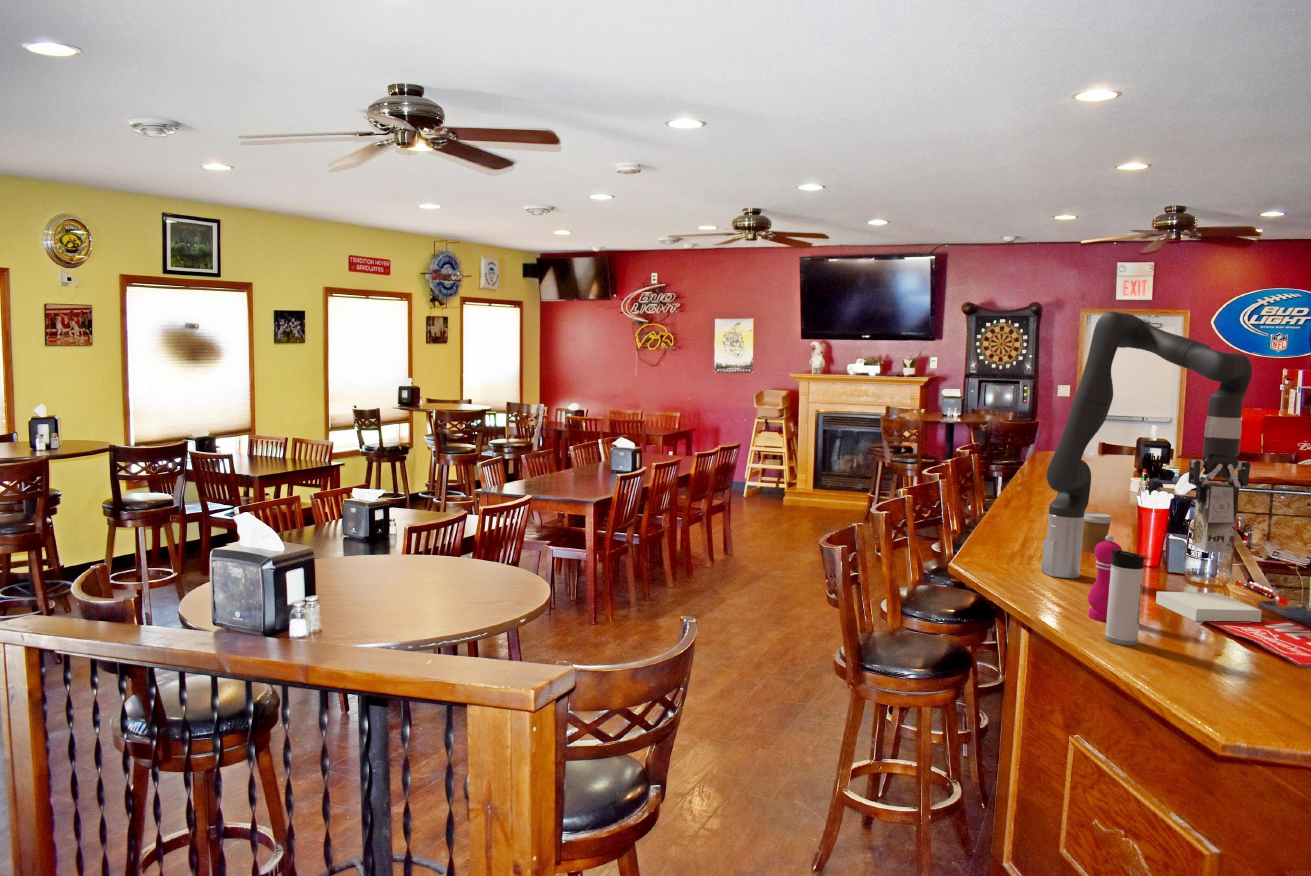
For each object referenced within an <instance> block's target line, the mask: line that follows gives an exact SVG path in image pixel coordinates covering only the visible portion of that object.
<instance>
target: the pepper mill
mask: <svg viewBox="0 0 1311 876" xmlns="http://www.w3.org/2000/svg"><path fill="white" fill-rule="evenodd" d="M1114 539H1115V538H1114V536H1113V535H1111V534H1108V535H1107V536H1106V538H1105V540H1106V541H1103V542H1100V543H1098V544H1097V545H1096V547H1095V550H1094V556H1095V558H1097V559H1096V561H1095V567H1096V569H1097V573H1096V579H1095V581H1094V584H1093V585H1092V587H1091V588H1090V589H1089V593H1088V595H1087V602H1088V603H1089V605H1090V606H1091V608H1089V609H1088V617H1089V618H1090V619H1092V620H1095V621H1098V622H1099V621H1100V622H1107V610H1108V597H1109V585H1110V573H1111V564H1112V553H1111V551H1112V550H1120V551H1123V548H1122V547H1121V545H1120V544H1118V543H1117V542H1115V541H1114Z"/></svg>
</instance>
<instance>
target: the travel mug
mask: <svg viewBox="0 0 1311 876" xmlns="http://www.w3.org/2000/svg"><path fill="white" fill-rule="evenodd" d="M1111 553H1112V564H1111V573H1110V585H1109V597H1108V610H1107V622H1106V624H1105V635H1104V637H1105V640H1106V641H1107V642H1109V643H1111V644H1115V645H1120V646H1128V647H1130V646H1135V645H1137V644H1138V641H1139V640H1138V639H1139V637H1138V636H1139V627H1140V618H1141V617H1140V616H1141V607H1142V606H1141V604H1142V593H1143V592H1142V591H1143V582H1144V570H1145V567H1144V564H1145V556H1144V555H1142V556H1141V555H1139V554H1138V553H1135V552H1130V551H1125V550H1122V551H1120V550H1112V551H1111Z"/></svg>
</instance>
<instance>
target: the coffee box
mask: <svg viewBox="0 0 1311 876" xmlns="http://www.w3.org/2000/svg"><path fill="white" fill-rule="evenodd" d="M1205 488H1207V490H1206V501H1205V503H1199V502H1197V500H1196V499H1195V505H1194V519H1193V530H1192V531H1193V532H1192V543H1191V545H1192V546H1194V547H1195V548H1197V549H1200V550H1202V551H1204V552H1207V553H1209V552H1210V553H1219V554H1220V553H1222V554H1230V555H1232V554H1233V552H1234V544H1235V536H1236V535H1235V534H1236V523H1237V516H1238V515H1237V513H1238V505H1239V504H1238V503H1239V493H1240V489H1239V487H1236V486H1233V485H1229V484H1228V483H1227V482H1218V481H1217V482H1216V481H1215V482H1214V481H1213V482H1212V481H1210V482H1209V483H1208V484H1207V486H1206V487H1205Z"/></svg>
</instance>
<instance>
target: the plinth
mask: <svg viewBox="0 0 1311 876" xmlns="http://www.w3.org/2000/svg"><path fill="white" fill-rule="evenodd" d="M1155 604H1157V605H1159V606H1161V607H1164V608H1165V609H1167V610H1170V611H1172V612H1174V613H1177V614H1178V615H1181V616H1183V617H1186V618H1188V619H1190V620H1192V621H1195V622H1204V621H1215V620H1217V621H1251V622H1261V621H1262V609H1260V608H1257V607H1255V606H1252V605H1249V604H1247V603H1245V602H1241V601H1239V600H1236V599H1234V598H1231V597H1229V596H1226V595H1224V594H1222V593H1219V592H1198V591H1197V592H1192V591H1189V592H1188V591H1156V597H1155Z"/></svg>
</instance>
